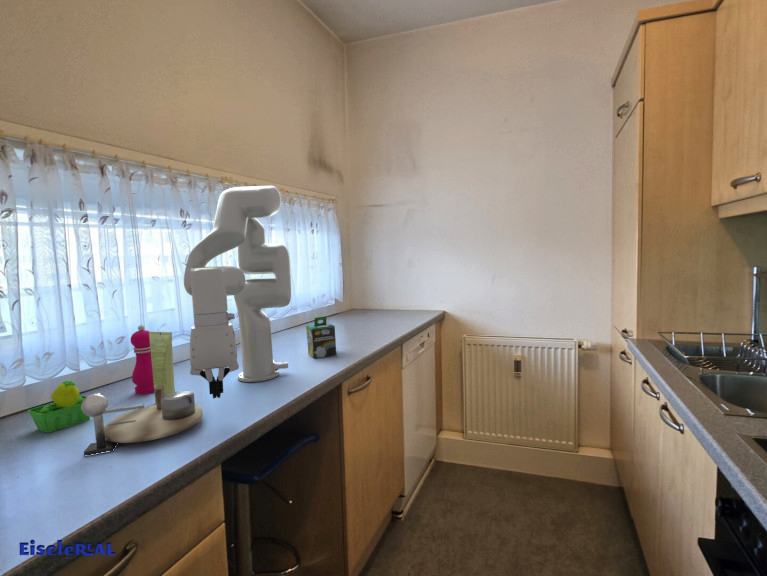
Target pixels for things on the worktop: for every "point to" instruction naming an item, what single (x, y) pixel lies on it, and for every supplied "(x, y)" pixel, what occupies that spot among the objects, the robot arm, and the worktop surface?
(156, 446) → the worktop surface
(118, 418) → the turntable
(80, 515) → the worktop surface
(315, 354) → the chalk box
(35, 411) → the fruit basket
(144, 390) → the pepper mill
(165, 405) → the cover
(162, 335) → the tube
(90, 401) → the knob-topped metal post
